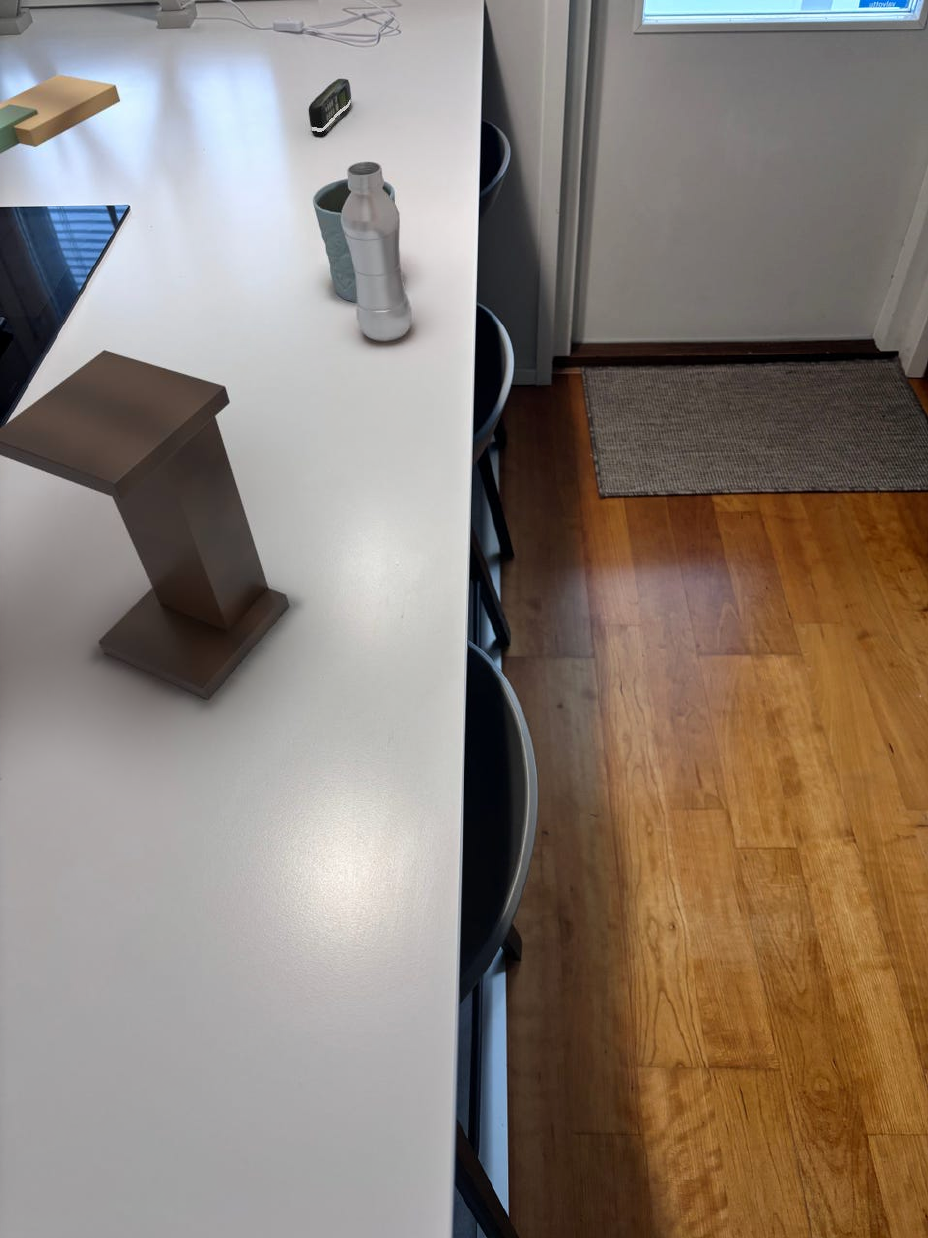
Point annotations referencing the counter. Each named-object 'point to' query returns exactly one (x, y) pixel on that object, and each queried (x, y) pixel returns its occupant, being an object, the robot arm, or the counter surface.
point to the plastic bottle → (375, 254)
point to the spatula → (52, 109)
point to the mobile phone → (329, 105)
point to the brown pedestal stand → (160, 511)
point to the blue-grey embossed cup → (338, 235)
